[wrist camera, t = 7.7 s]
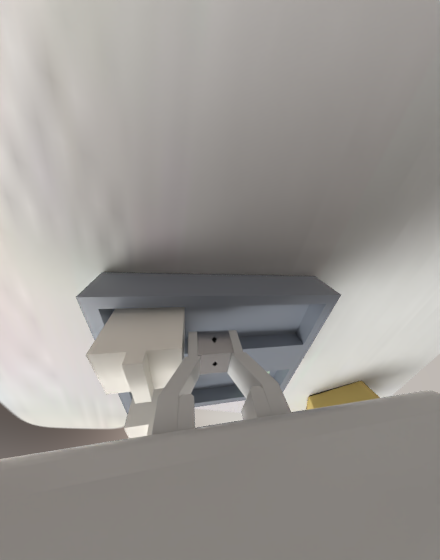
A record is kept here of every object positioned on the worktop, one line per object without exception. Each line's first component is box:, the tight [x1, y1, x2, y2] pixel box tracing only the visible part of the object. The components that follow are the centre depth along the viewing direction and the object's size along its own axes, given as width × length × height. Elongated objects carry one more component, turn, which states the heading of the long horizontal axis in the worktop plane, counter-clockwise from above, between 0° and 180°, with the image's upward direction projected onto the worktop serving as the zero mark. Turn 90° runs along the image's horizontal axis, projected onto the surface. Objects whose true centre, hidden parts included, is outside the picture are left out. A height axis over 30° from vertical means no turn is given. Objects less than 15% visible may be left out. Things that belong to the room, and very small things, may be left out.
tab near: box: [86, 307, 185, 404], centre depth 9 cm, size 3×4×4 cm
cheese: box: [306, 381, 380, 410], centre depth 25 cm, size 10×11×10 cm
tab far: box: [124, 388, 164, 438], centre depth 13 cm, size 3×4×4 cm
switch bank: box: [76, 272, 341, 415], centre depth 14 cm, size 14×16×3 cm
